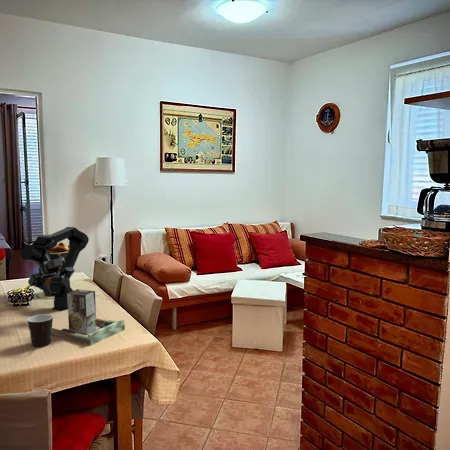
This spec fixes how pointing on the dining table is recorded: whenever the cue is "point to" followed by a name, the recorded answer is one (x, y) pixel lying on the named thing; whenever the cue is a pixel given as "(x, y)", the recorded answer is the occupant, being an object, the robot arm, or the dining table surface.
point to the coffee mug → (40, 329)
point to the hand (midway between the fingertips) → (60, 292)
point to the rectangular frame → (104, 332)
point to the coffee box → (82, 311)
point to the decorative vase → (55, 253)
